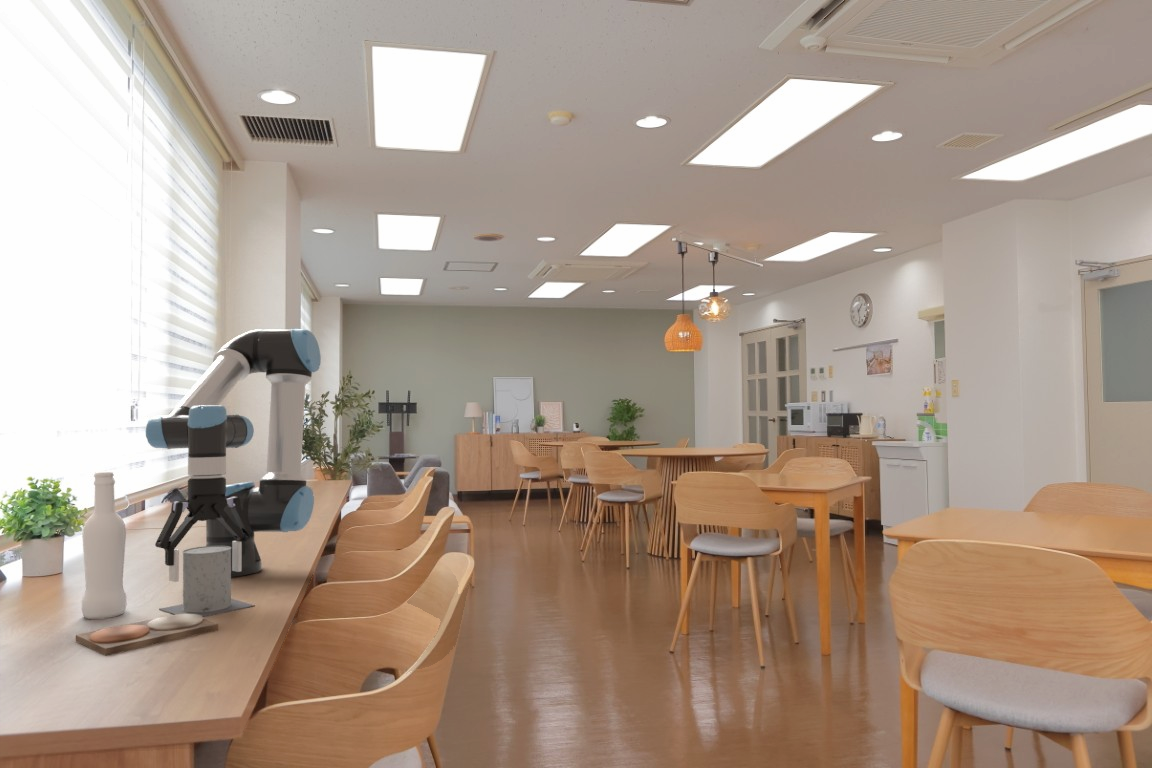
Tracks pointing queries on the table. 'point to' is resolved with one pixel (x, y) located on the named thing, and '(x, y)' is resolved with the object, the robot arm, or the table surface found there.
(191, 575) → the grey marbled cylinder
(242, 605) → the mat
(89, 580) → the bottle
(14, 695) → the table surface
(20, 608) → the table surface
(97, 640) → the board
